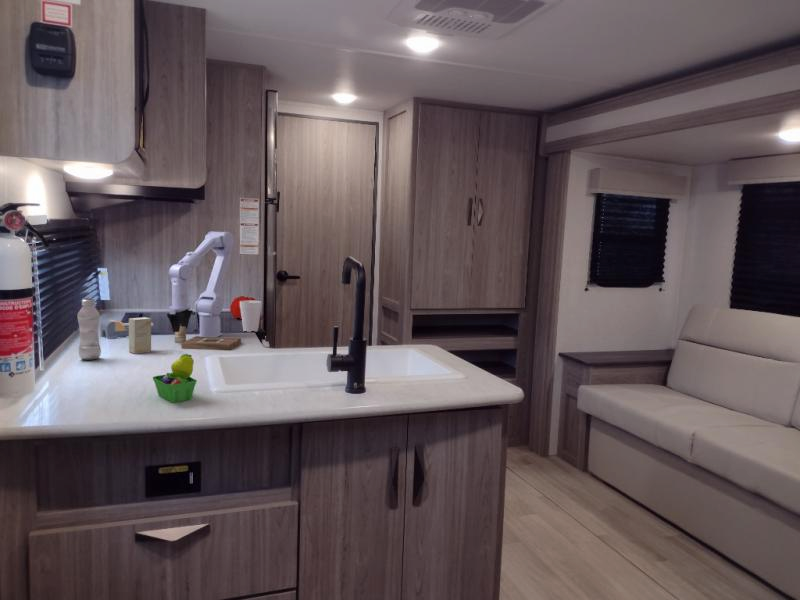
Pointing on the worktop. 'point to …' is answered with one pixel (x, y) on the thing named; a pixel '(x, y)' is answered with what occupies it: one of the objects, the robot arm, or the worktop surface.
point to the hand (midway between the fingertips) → (180, 330)
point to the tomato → (238, 306)
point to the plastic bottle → (89, 330)
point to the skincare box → (139, 335)
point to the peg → (180, 335)
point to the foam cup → (250, 315)
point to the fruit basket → (177, 381)
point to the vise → (114, 329)
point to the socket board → (211, 343)
